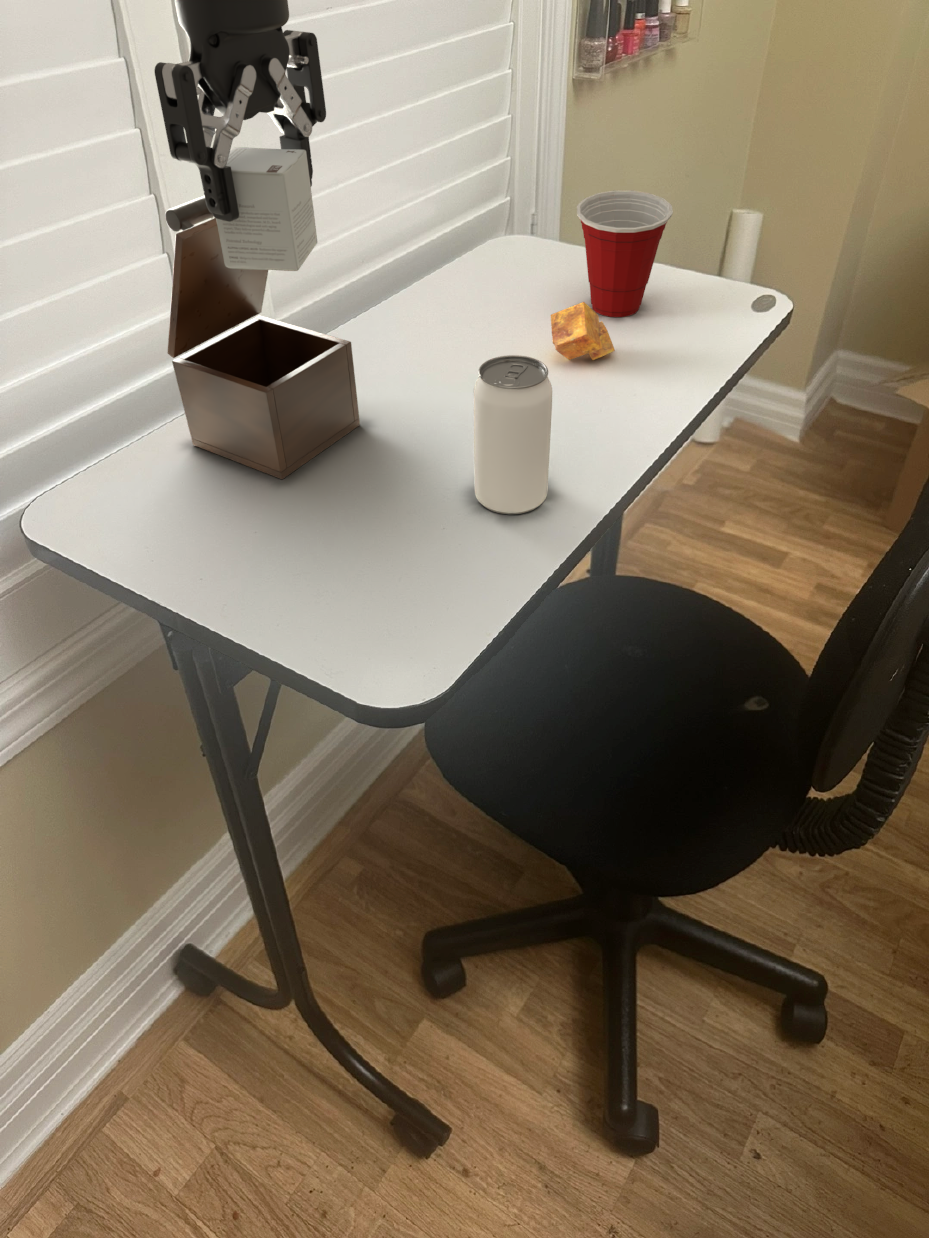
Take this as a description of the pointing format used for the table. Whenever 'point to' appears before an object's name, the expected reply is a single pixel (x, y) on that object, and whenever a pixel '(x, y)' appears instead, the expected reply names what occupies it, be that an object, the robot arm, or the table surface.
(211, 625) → the table surface
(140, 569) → the table surface
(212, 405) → the chest
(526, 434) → the can
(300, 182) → the product carton
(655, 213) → the plastic cup
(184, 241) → the lid
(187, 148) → the robot arm
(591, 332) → the pyrite
